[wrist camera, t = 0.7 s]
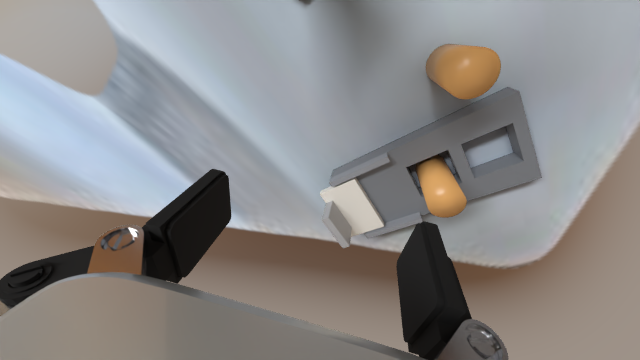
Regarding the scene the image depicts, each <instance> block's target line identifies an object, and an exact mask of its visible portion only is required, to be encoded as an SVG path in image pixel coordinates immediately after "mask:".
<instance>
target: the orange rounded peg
mask: <svg viewBox="0 0 640 360" xmlns="http://www.w3.org/2000/svg"><path fill="white" fill-rule="evenodd" d="M500 68H501V63H500V59H499V57H498V55H497V54H496V53H495V52H494V51H493V50H491V49H489V48H486V47H477V46H466V45H455V44H445V45H442V46H440V47H438V48H437V49H435V50H434V51H433V52H432V53H431V54H430V56H429V58H428V60H427V63H426V73H427V75H428V77H429V78H430V79H431V80H433V81H434V82H435V83H437V84H438V85H439V86H441V87H442V88H444V89H445V90H446V91H448V92H449V93H450V94H452V95H453V96H455V97H457V98H459V99H472V98H476V97H478V96H480V95H482V94H484V93H485V92H487V91H488V90H489V89H490V88H491V87H492V86H493V85H494V83H495V82H496V80H497V78H498V76H499V73H500Z"/></svg>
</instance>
